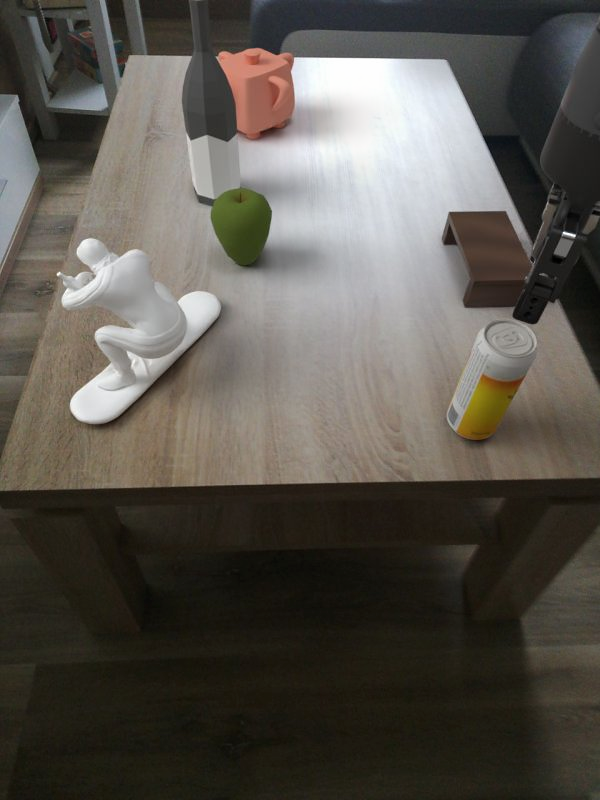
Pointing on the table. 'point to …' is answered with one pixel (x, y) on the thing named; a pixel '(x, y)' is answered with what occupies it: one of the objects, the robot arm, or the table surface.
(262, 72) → the teapot
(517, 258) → the shelf
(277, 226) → the table surface
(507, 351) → the beer can
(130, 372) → the figurine
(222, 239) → the apple
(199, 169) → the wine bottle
